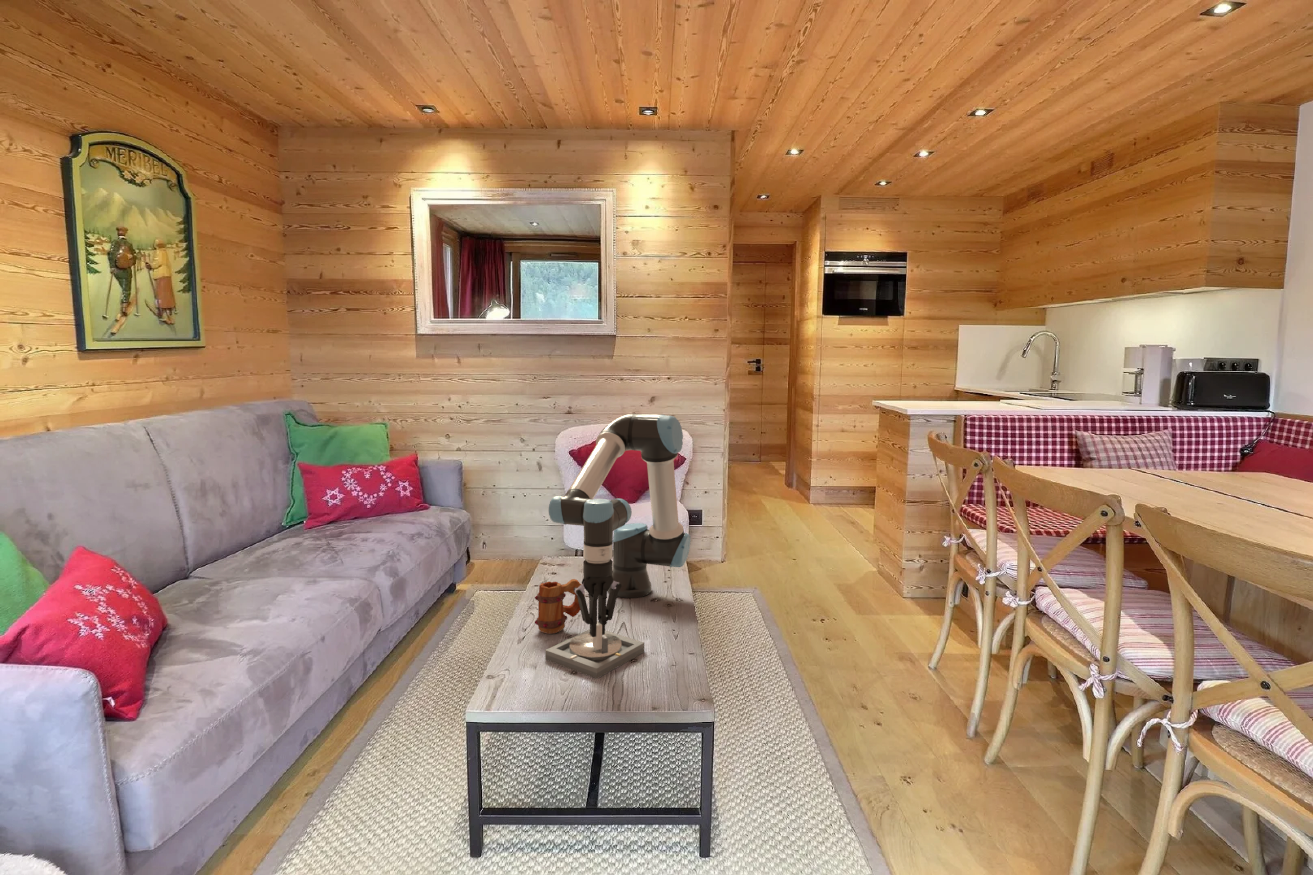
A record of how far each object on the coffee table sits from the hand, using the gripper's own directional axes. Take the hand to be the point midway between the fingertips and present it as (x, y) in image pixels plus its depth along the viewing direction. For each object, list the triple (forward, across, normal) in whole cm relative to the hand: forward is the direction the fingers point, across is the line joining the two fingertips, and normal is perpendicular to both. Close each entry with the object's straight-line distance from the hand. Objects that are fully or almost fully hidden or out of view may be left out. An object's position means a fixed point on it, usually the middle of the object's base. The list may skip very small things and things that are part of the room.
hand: (597, 647), depth 179 cm
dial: (+3, +2, +5) cm, 7 cm away
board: (+5, +2, +5) cm, 8 cm away
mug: (+5, 0, +26) cm, 27 cm away
